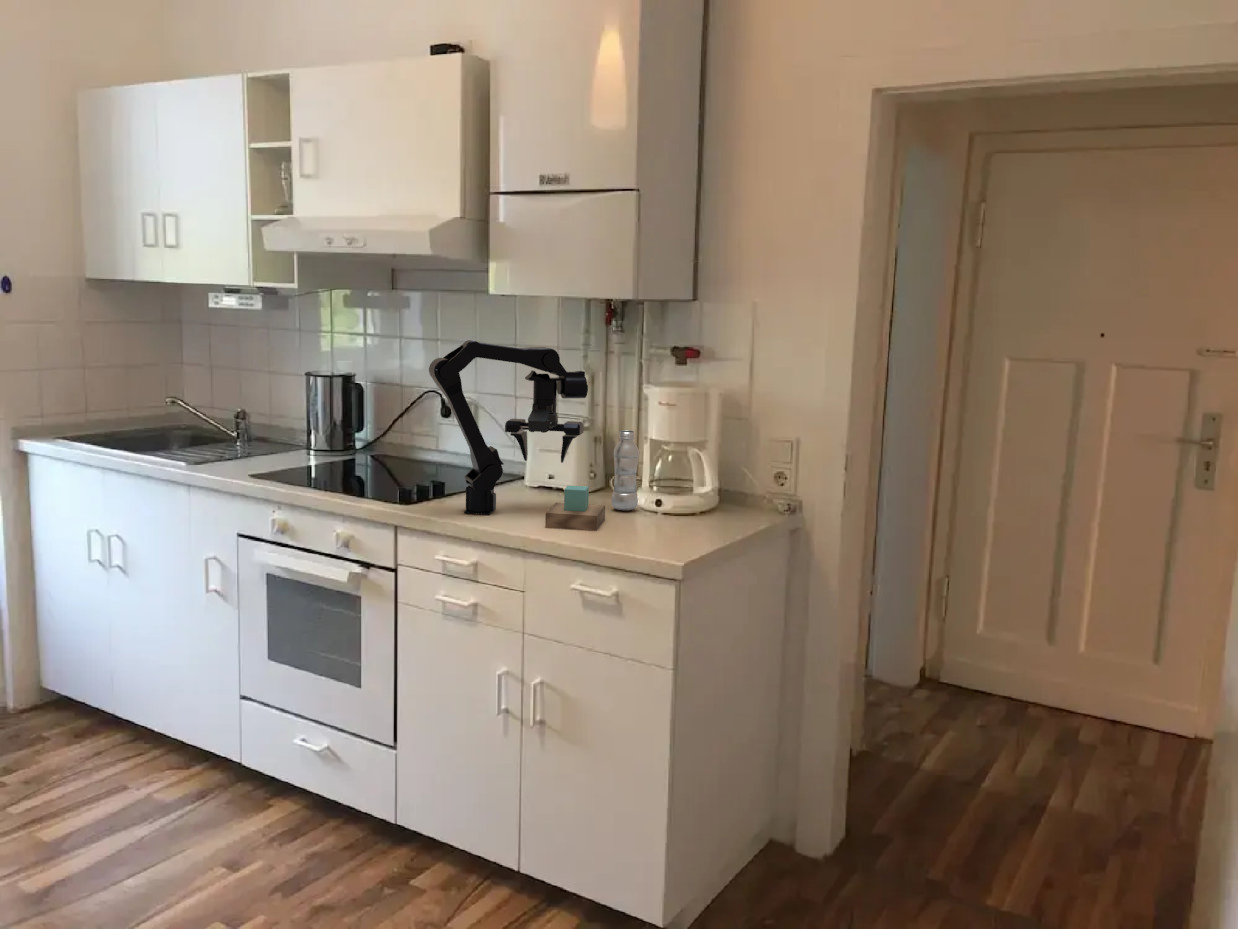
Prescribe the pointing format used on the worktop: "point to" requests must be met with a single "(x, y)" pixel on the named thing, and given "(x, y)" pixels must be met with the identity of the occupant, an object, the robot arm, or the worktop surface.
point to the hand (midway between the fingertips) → (543, 461)
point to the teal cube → (576, 498)
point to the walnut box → (575, 518)
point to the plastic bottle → (625, 472)
